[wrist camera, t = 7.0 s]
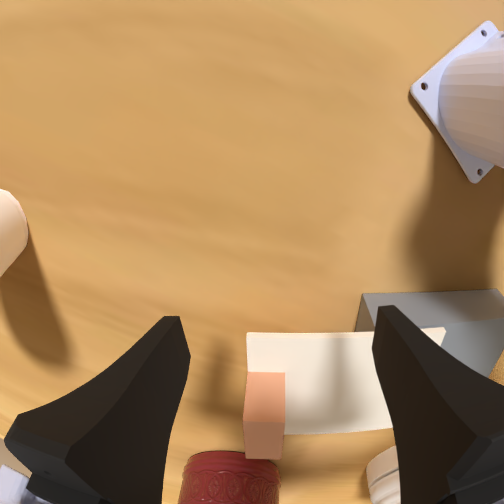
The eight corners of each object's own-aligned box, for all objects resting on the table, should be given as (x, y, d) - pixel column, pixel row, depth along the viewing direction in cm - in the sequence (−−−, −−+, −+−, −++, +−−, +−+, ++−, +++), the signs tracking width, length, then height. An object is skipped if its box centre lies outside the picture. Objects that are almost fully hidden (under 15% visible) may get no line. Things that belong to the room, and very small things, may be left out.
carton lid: (443, 327, 18) (469, 374, 14) (399, 422, 23) (410, 463, 19) (247, 332, 19) (240, 389, 15) (251, 429, 24) (247, 474, 20)
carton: (496, 288, 22) (519, 315, 18) (457, 378, 26) (470, 406, 23) (362, 293, 22) (375, 328, 19) (340, 390, 27) (345, 424, 24)
